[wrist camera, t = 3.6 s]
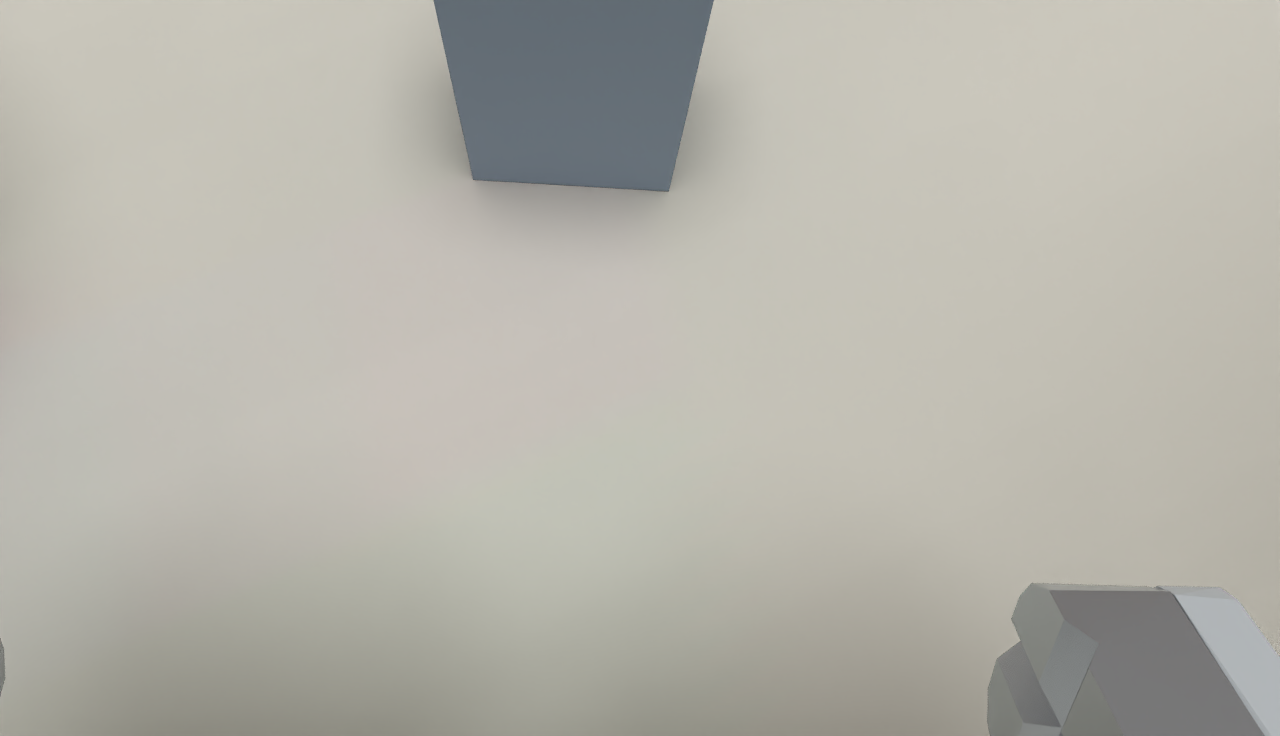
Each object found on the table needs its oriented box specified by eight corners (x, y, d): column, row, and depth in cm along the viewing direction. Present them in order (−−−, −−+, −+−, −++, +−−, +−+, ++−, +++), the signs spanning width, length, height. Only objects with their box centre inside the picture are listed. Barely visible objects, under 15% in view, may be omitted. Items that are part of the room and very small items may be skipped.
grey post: (672, 74, 25) (728, -220, 16) (668, 191, 24) (725, -49, 15) (482, 61, 25) (434, -245, 16) (473, 179, 24) (417, -72, 15)
